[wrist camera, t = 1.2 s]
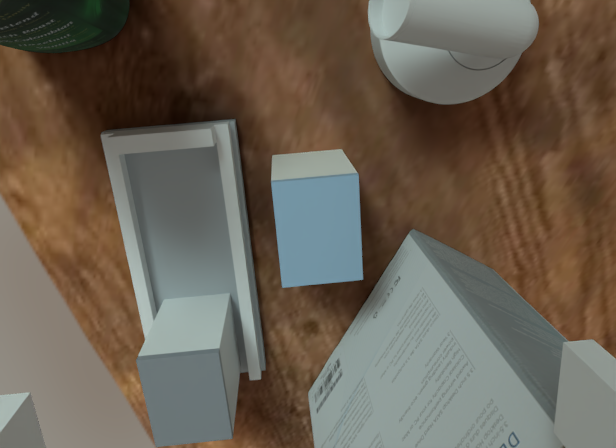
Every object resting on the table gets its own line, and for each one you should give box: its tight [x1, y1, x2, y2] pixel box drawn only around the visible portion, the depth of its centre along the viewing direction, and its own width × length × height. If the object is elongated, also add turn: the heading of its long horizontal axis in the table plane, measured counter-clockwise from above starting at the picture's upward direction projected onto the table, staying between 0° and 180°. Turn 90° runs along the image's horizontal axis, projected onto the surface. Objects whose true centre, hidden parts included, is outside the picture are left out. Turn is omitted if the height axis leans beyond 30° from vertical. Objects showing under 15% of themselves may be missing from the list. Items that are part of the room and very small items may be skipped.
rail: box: [101, 119, 266, 380], centre depth 32 cm, size 18×8×3 cm, turn 5°
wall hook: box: [368, 0, 539, 104], centre depth 25 cm, size 9×10×10 cm
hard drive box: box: [308, 229, 569, 448], centre depth 27 cm, size 16×8×20 cm, turn 152°
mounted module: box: [136, 293, 241, 447], centre depth 31 cm, size 6×4×7 cm
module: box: [271, 149, 363, 288], centre depth 29 cm, size 6×4×7 cm
